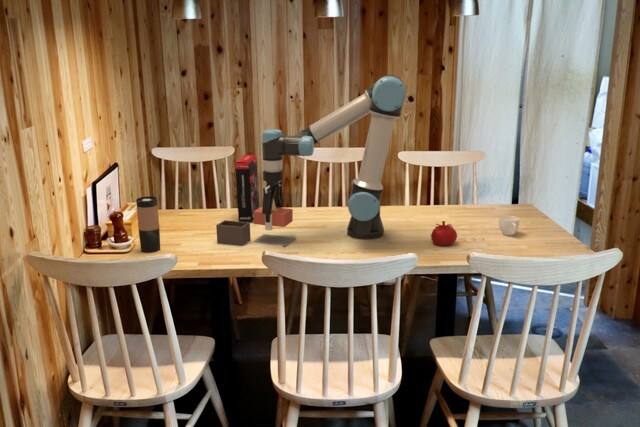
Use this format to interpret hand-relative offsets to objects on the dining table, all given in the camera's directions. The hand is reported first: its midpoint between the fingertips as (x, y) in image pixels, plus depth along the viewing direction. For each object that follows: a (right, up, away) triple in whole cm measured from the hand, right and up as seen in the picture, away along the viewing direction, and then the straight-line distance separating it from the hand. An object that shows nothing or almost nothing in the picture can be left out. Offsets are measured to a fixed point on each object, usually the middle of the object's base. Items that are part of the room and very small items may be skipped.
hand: (273, 226), depth 246 cm
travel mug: (-46, -9, -8) cm, 48 cm away
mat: (0, -6, +2) cm, 6 cm away
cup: (+95, -4, +8) cm, 96 cm away
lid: (0, +2, 0) cm, 2 cm away
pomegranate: (+66, -7, -2) cm, 67 cm away
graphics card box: (-14, +3, +35) cm, 37 cm away
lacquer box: (-15, -7, -1) cm, 17 cm away
